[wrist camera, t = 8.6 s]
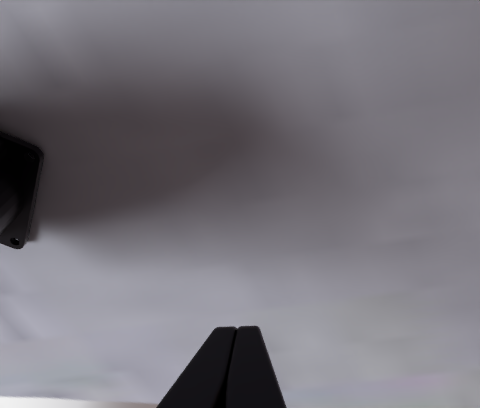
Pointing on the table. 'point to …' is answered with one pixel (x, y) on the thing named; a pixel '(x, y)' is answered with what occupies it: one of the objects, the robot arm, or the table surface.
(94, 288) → the table surface
